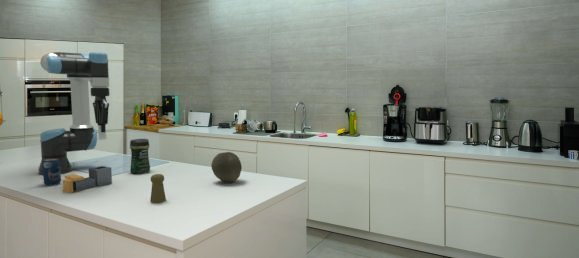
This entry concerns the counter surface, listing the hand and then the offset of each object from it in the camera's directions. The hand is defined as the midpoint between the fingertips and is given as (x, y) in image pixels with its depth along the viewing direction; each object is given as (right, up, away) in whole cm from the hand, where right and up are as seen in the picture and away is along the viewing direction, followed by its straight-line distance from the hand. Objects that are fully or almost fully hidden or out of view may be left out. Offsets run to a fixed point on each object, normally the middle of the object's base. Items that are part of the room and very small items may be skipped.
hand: (102, 139), depth 166 cm
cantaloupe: (+55, -22, +12) cm, 60 cm away
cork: (+32, -25, -18) cm, 44 cm away
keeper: (-11, -23, -4) cm, 26 cm away
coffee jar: (+4, -19, +32) cm, 38 cm away
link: (-7, -22, +3) cm, 23 cm away
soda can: (-27, -22, +7) cm, 36 cm away
